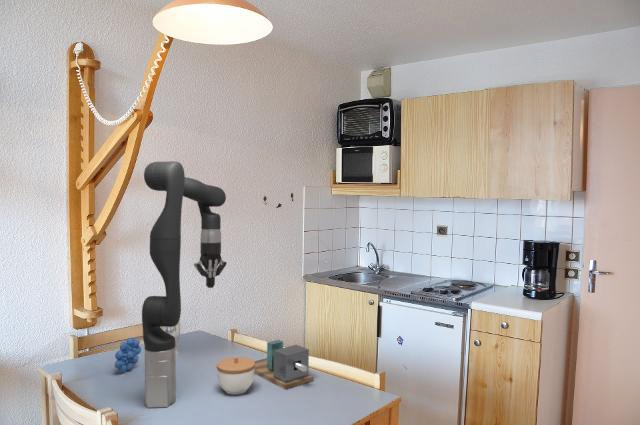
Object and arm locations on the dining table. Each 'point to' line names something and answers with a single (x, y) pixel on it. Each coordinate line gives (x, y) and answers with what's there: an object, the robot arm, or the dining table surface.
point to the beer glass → (174, 334)
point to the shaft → (270, 355)
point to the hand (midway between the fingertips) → (210, 287)
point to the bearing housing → (290, 363)
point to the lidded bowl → (235, 374)
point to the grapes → (127, 355)
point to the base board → (269, 375)
